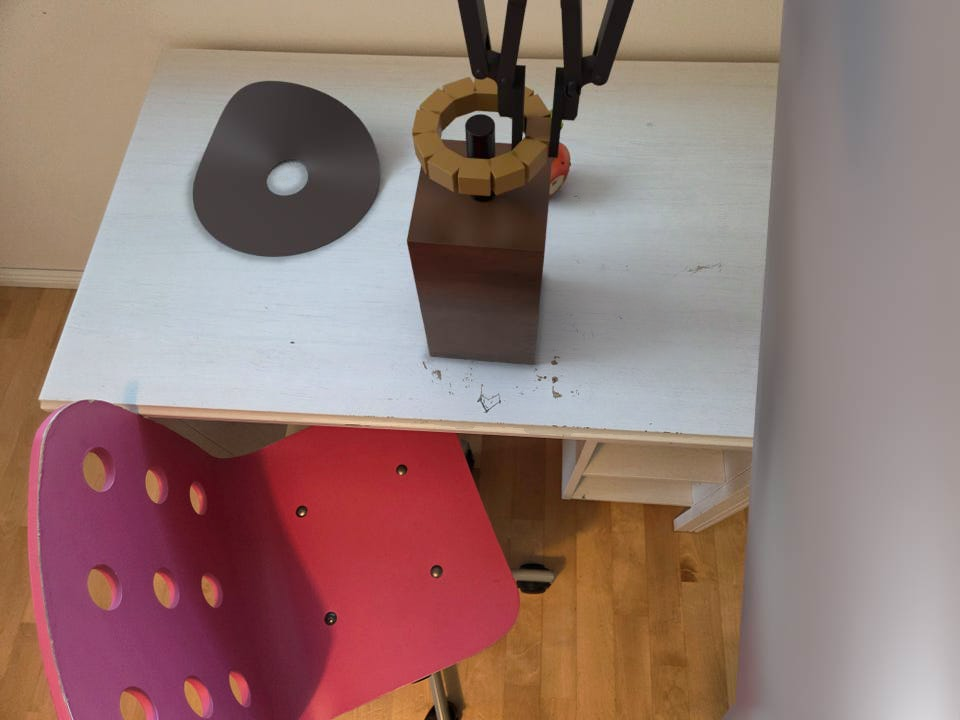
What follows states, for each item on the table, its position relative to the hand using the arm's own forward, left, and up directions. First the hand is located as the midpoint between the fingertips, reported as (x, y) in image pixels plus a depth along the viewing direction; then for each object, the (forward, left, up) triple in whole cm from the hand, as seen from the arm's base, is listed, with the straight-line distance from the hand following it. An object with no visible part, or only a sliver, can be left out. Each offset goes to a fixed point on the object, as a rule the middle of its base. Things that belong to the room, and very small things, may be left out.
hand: (535, 143), depth 56 cm
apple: (+20, 0, -28) cm, 35 cm away
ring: (0, +4, 0) cm, 4 cm away
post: (0, +5, -6) cm, 8 cm away
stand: (0, +5, -28) cm, 29 cm away
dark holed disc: (+16, +34, -28) cm, 47 cm away
